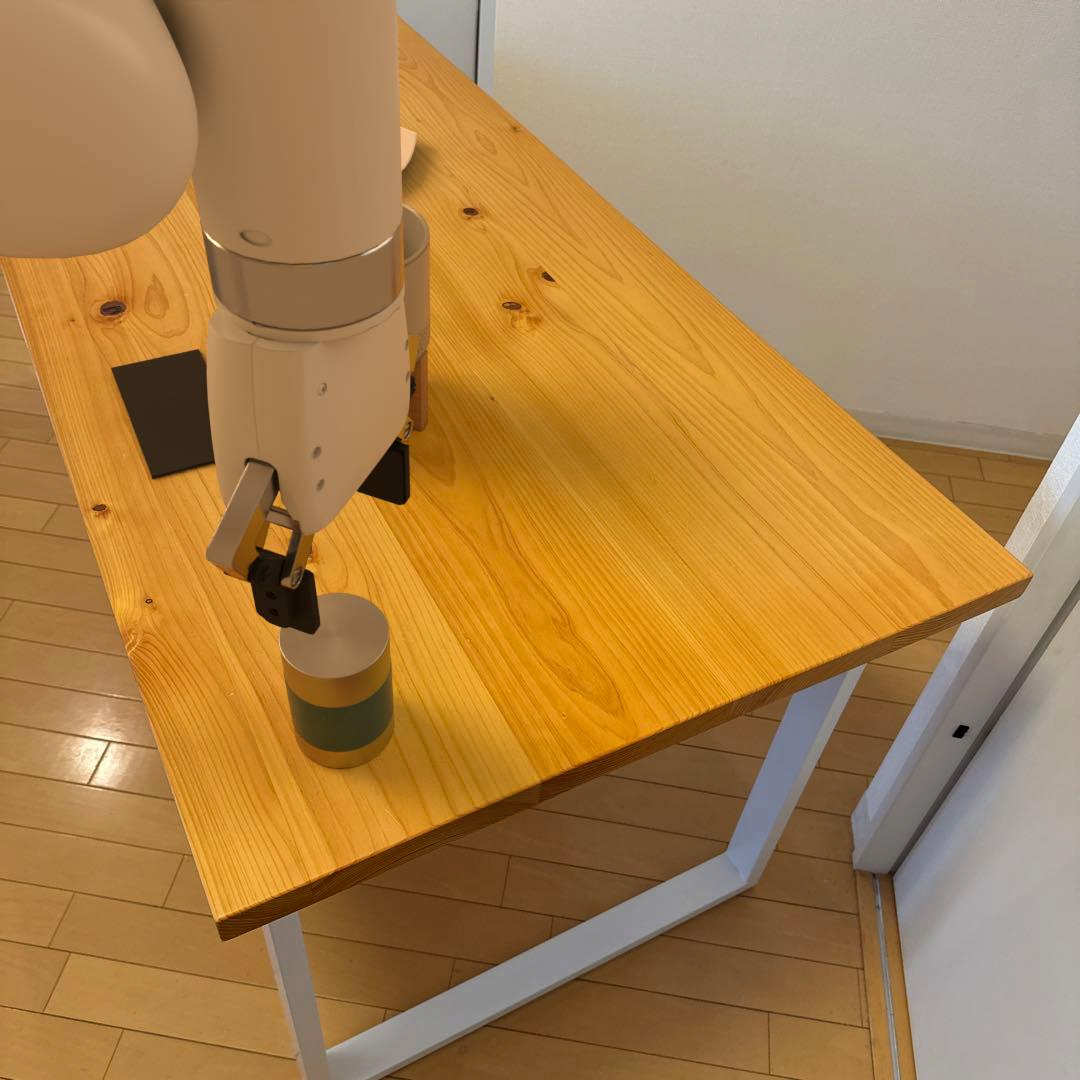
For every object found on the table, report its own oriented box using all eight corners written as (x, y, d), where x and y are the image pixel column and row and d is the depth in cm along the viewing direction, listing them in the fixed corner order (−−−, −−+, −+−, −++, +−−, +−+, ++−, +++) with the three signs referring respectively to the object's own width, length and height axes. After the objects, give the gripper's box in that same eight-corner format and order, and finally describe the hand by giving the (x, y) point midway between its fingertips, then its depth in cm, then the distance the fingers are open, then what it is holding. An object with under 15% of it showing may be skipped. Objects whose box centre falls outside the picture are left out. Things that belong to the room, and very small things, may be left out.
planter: (326, 352, 97) (309, 177, 84) (451, 386, 95) (454, 211, 82) (259, 432, 88) (229, 250, 75) (395, 471, 86) (389, 290, 73)
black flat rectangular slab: (248, 454, 86) (247, 451, 86) (152, 479, 83) (151, 476, 83) (199, 351, 95) (198, 348, 95) (111, 370, 93) (110, 367, 92)
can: (275, 746, 67) (255, 654, 59) (327, 672, 71) (315, 578, 64) (363, 784, 65) (354, 694, 58) (411, 706, 70) (409, 614, 62)
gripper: (330, 147, 46) (352, 435, 58) (81, 348, 34) (175, 654, 47) (482, 186, 44) (472, 472, 57) (275, 409, 33) (319, 708, 45)
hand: (338, 554), depth 52 cm, fingers open, 9 cm apart
